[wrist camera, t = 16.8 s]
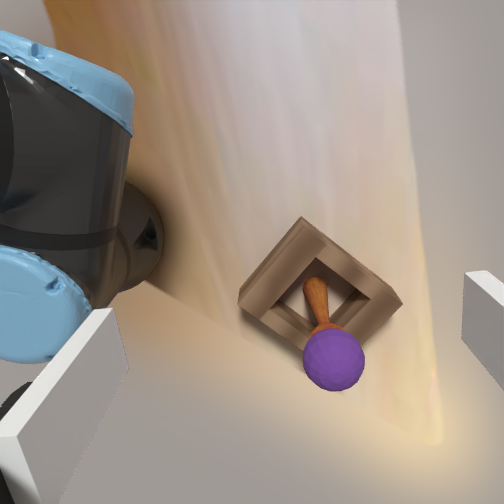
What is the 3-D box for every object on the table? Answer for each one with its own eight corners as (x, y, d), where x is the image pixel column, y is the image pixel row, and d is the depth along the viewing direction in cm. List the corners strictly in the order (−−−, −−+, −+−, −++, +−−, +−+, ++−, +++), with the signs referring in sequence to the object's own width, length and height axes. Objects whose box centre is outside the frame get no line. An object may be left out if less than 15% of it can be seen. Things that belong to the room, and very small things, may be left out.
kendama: (309, 314, 59) (328, 414, 40) (284, 283, 57) (292, 371, 39) (345, 292, 58) (383, 384, 39) (321, 258, 56) (348, 338, 37)
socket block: (239, 288, 58) (237, 304, 53) (301, 216, 54) (304, 227, 50) (328, 351, 61) (333, 372, 56) (392, 287, 57) (403, 304, 52)
